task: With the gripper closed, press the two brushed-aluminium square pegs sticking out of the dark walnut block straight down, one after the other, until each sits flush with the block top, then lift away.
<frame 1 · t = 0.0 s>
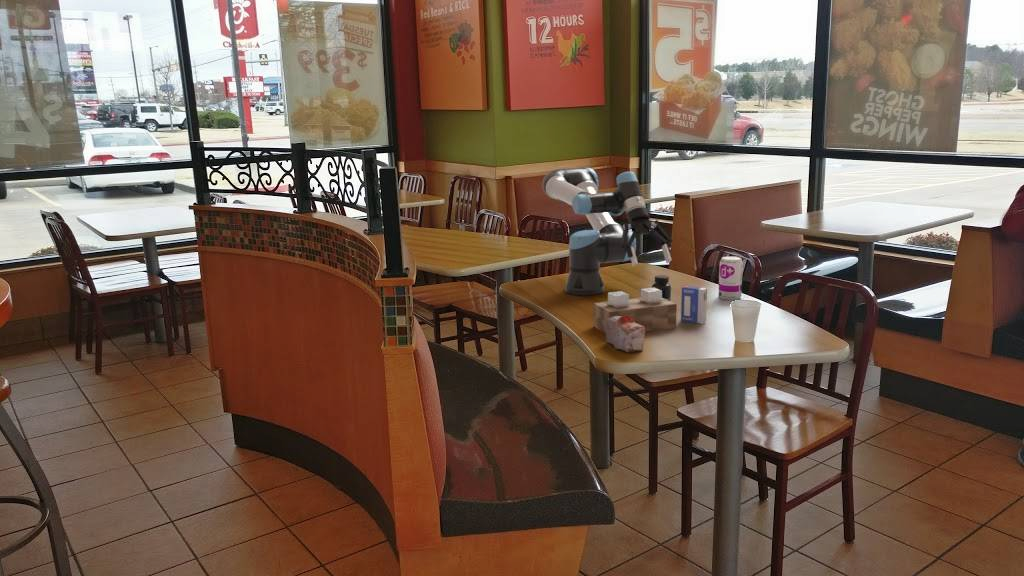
hand: (652, 263, 294), 15 cm above the table, tool tilted 35°, fingers open, 13 cm apart
food item: (624, 348, 249), on the table
peg near: (618, 304, 266), point 8 cm above the table, slide at 4.0 cm
peg far: (651, 300, 270), point 8 cm above the table, slide at 4.0 cm
supplement can: (729, 298, 305), on the table
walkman: (693, 322, 275), on the table
walnut block: (634, 327, 270), on the table
supplement bottle: (660, 310, 290), on the table
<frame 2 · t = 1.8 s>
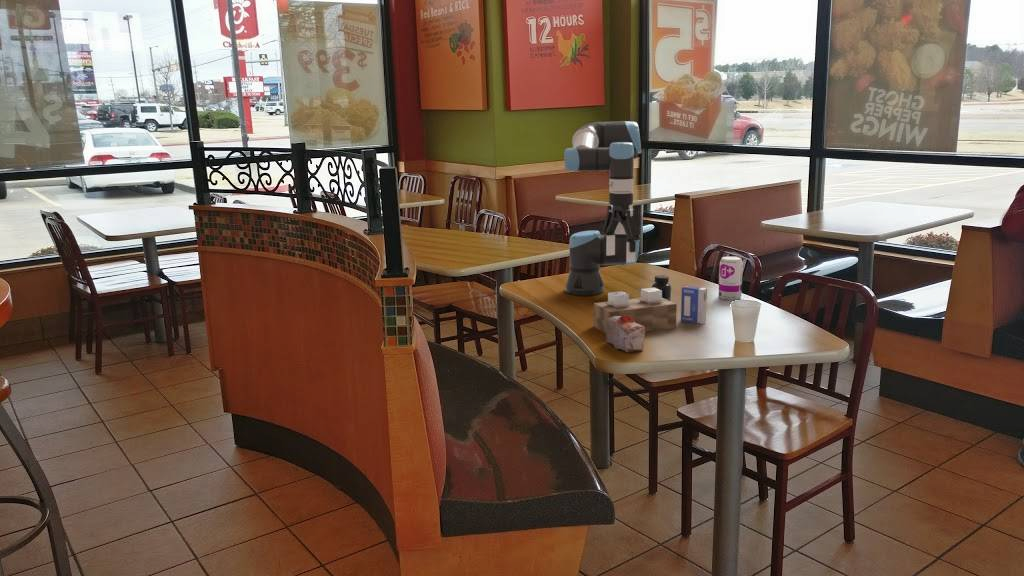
hand: (620, 258, 263), 23 cm above the table, tool pointing down, fingers open, 13 cm apart
nothing on the table moved.
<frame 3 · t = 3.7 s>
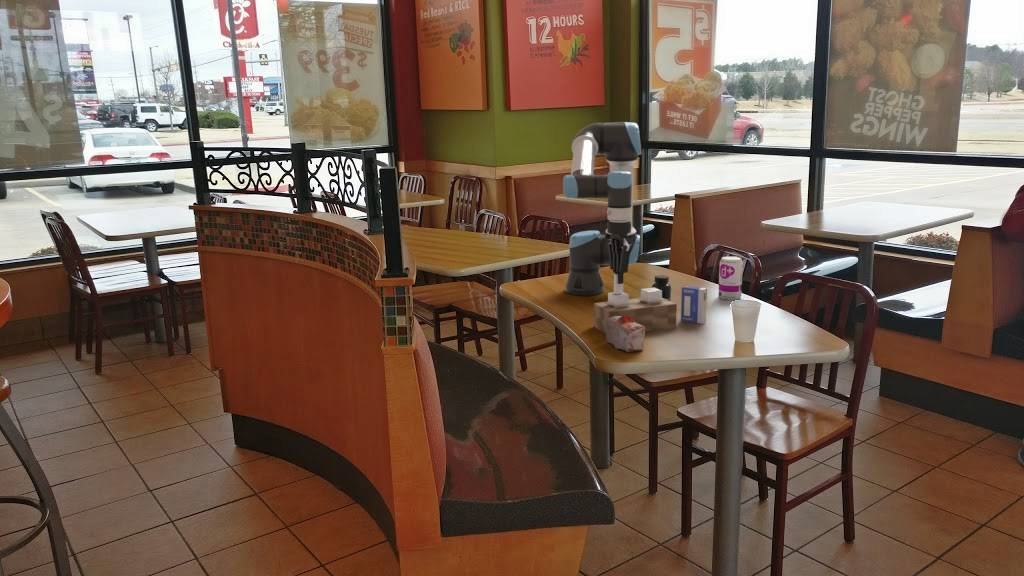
hand: (618, 292, 265), 12 cm above the table, tool pointing down, fingers closed
peg near: (618, 304, 266), point 8 cm above the table, slide at 4.0 cm, touching gripper
everything else where it was.
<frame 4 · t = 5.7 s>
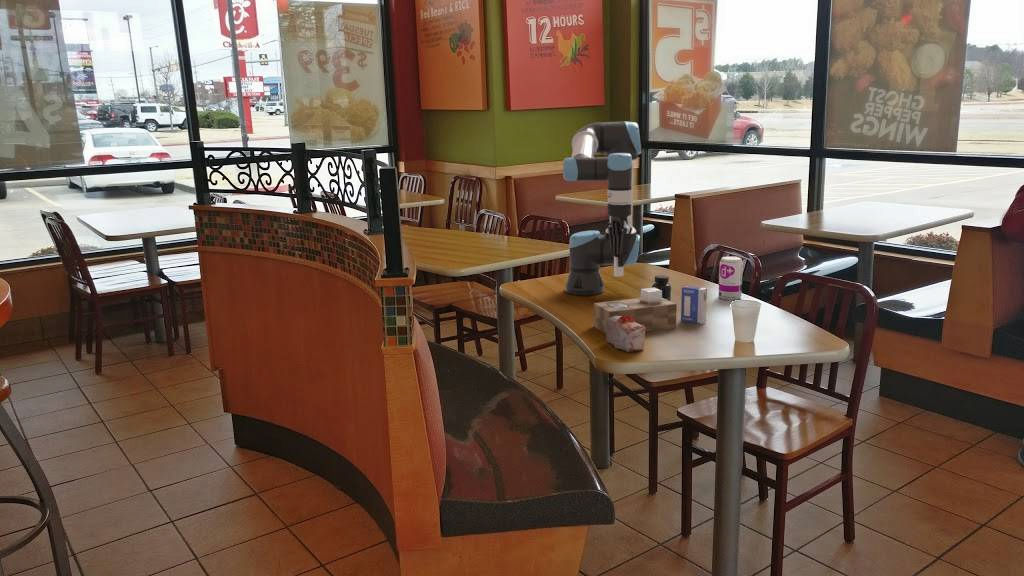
hand: (618, 275, 264), 18 cm above the table, tool pointing down, fingers closed
peg near: (618, 315, 267), point 5 cm above the table, slide at 0.0 cm
everything else where it was.
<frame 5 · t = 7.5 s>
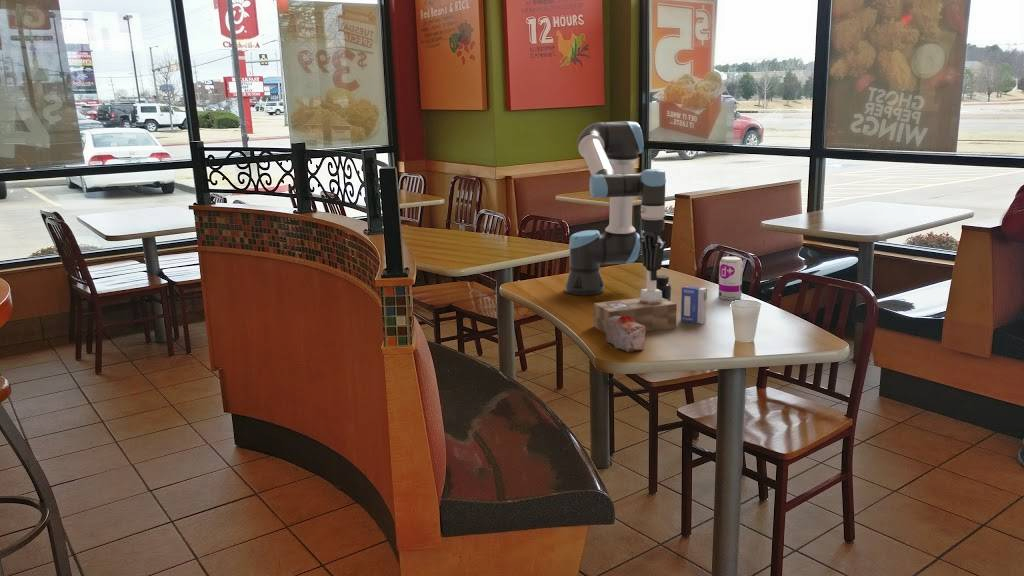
hand: (651, 289, 269), 12 cm above the table, tool pointing down, fingers closed
peg far: (651, 300, 270), point 8 cm above the table, slide at 3.9 cm, touching gripper
everything else where it was.
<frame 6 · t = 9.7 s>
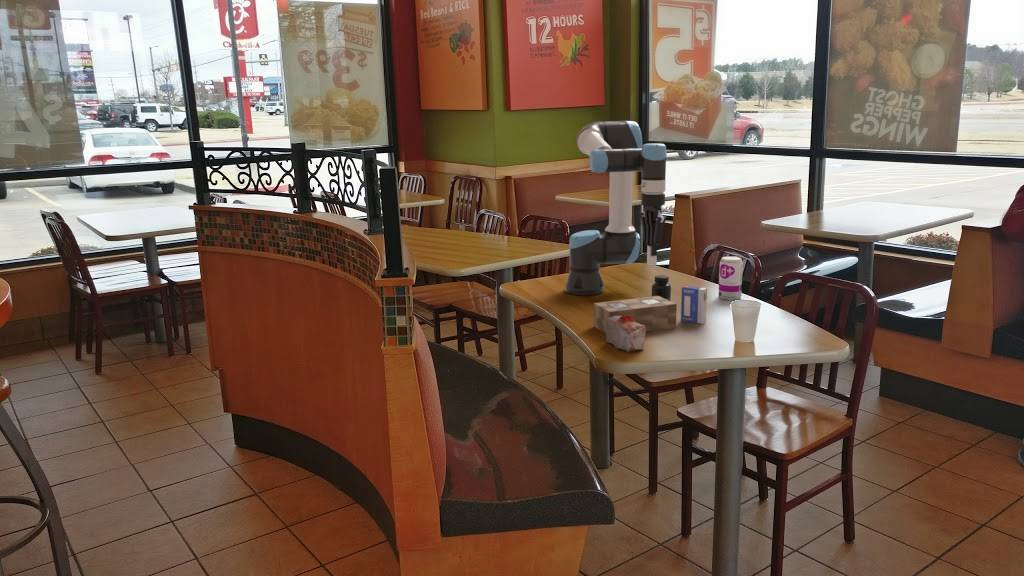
hand: (651, 265, 267), 20 cm above the table, tool pointing down, fingers closed
peg far: (650, 311, 270), point 5 cm above the table, slide at 0.0 cm
everything else where it was.
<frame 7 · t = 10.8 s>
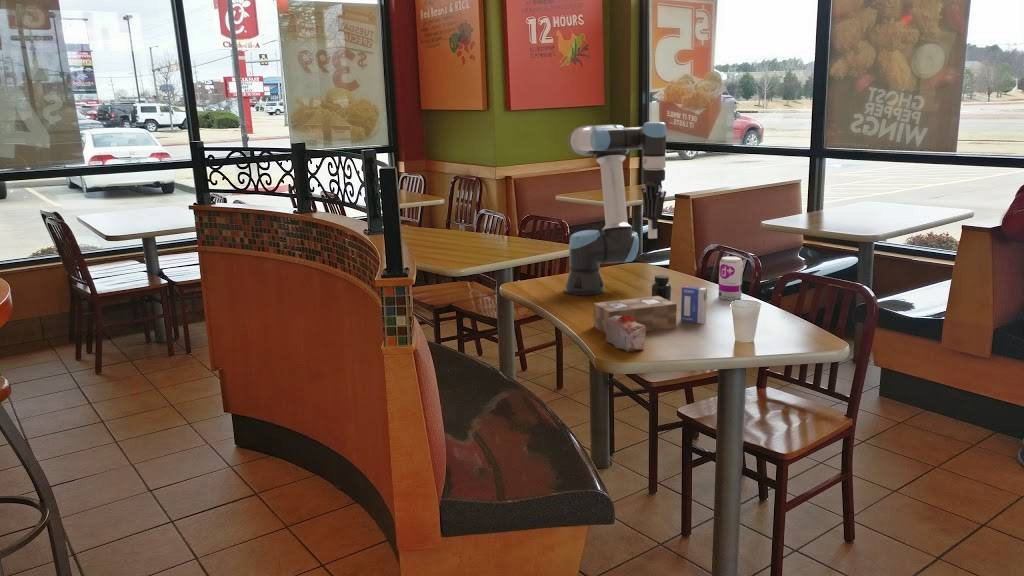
hand: (652, 238, 281), 26 cm above the table, tool pointing down, fingers closed
nothing on the table moved.
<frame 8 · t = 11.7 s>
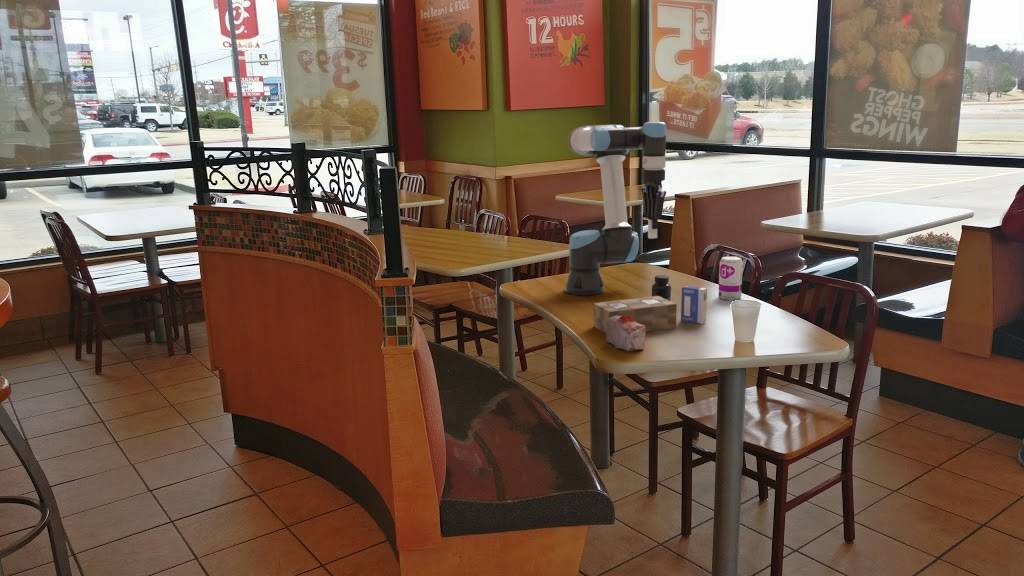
hand: (652, 237, 281), 26 cm above the table, tool pointing down, fingers closed
nothing on the table moved.
at the end: peg near slide at 0.0 cm; peg far slide at 0.0 cm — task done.
